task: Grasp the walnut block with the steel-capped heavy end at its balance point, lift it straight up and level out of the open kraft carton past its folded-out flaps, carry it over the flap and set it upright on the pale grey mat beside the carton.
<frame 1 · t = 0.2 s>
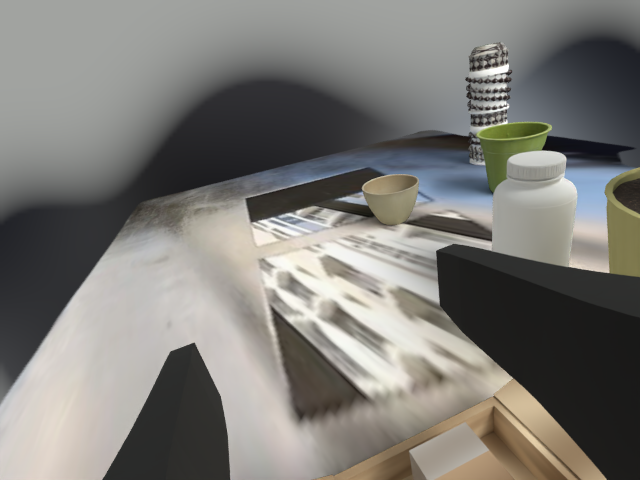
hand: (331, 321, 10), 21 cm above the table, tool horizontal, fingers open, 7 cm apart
plant pot: (510, 190, 68), on the table
flower pot: (394, 220, 67), on the table
pill bottle: (527, 279, 44), on the table
decorative candle: (488, 160, 87), on the table
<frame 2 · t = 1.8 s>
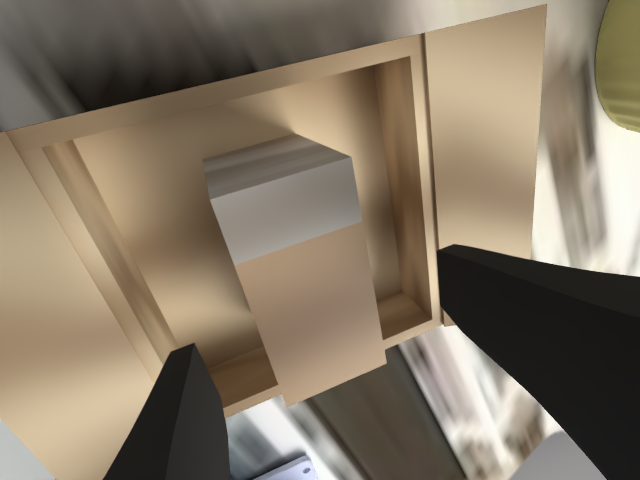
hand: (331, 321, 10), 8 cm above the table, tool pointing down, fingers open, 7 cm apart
carton: (272, 226, 17), on the table
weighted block: (275, 231, 17), point 1 cm above the table, touching carton
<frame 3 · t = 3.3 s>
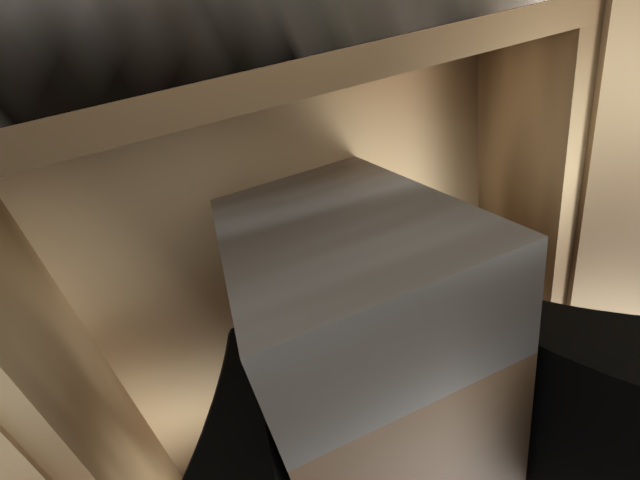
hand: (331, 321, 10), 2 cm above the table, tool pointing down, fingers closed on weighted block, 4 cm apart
carton: (311, 289, 12), on the table
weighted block: (317, 299, 11), point 1 cm above the table, touching carton, gripper
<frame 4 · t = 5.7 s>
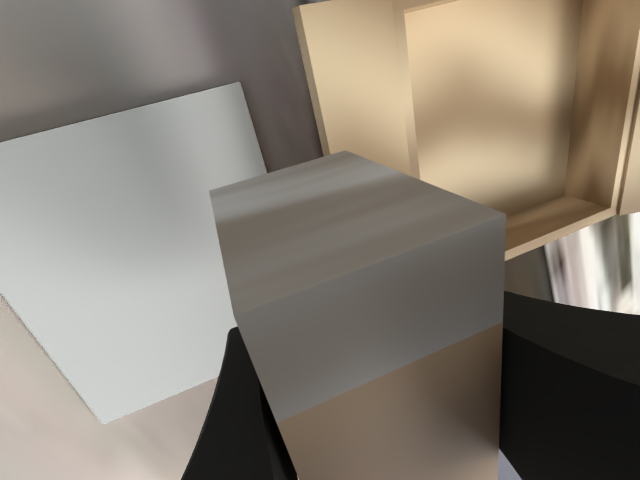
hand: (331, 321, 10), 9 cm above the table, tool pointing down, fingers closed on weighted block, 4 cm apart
carton: (478, 124, 20), on the table
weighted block: (311, 286, 12), point 7 cm above the table, touching gripper
grey mat: (163, 268, 17), on the table
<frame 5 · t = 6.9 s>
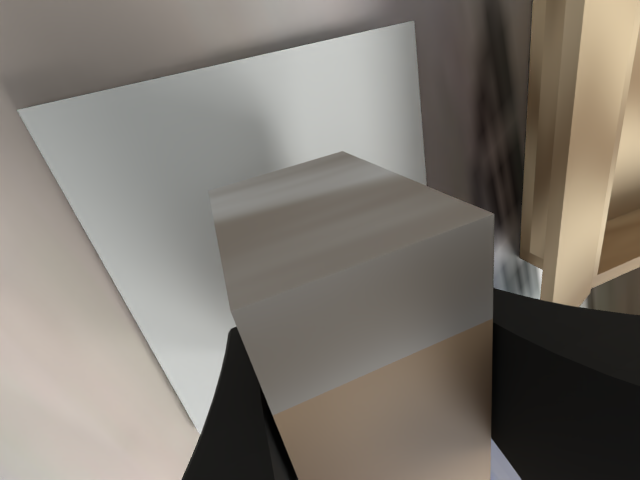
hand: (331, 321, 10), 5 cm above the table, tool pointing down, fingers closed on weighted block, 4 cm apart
carton: (639, 93, 17), on the table
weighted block: (308, 285, 12), point 3 cm above the table, touching gripper
grey mat: (290, 254, 14), on the table
when the fingers open (3 cm above the table, at t = 8.1 s): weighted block stays where it is, resting on grey mat.
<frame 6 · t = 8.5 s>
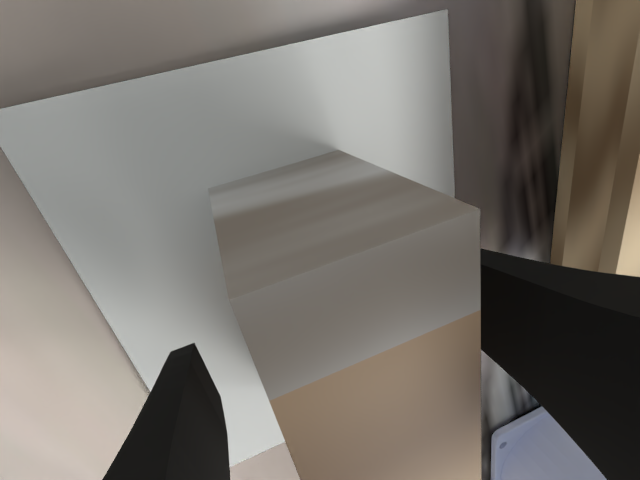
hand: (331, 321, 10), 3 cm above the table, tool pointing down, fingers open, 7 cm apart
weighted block: (306, 281, 12), resting on grey mat
grey mat: (302, 274, 13), on the table
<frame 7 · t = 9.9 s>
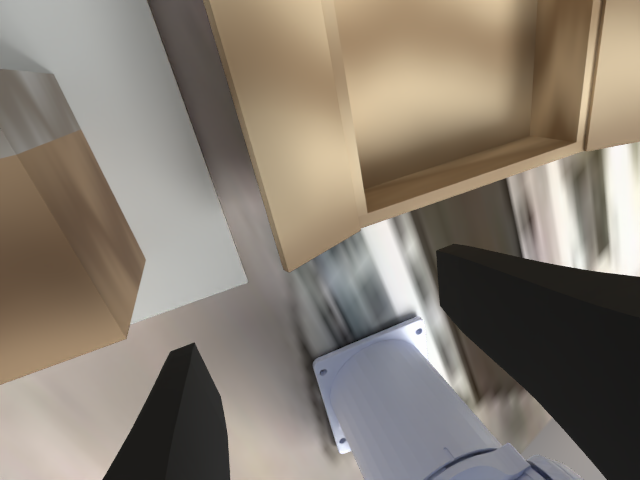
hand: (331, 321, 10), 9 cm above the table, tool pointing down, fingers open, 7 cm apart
carton: (428, 44, 18), on the table
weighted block: (53, 192, 14), resting on grey mat
grey mat: (57, 188, 15), on the table
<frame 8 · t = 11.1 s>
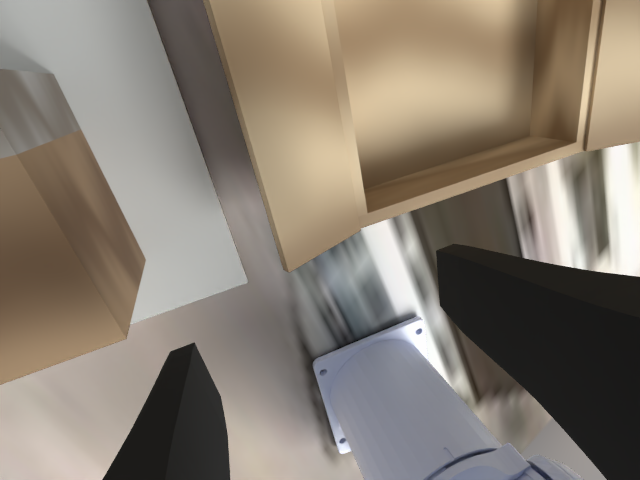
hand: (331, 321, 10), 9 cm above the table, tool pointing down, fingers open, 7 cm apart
carton: (428, 44, 18), on the table
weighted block: (53, 192, 14), resting on grey mat
grey mat: (57, 188, 15), on the table
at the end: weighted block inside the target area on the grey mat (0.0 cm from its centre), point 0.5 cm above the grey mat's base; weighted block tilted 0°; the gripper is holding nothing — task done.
